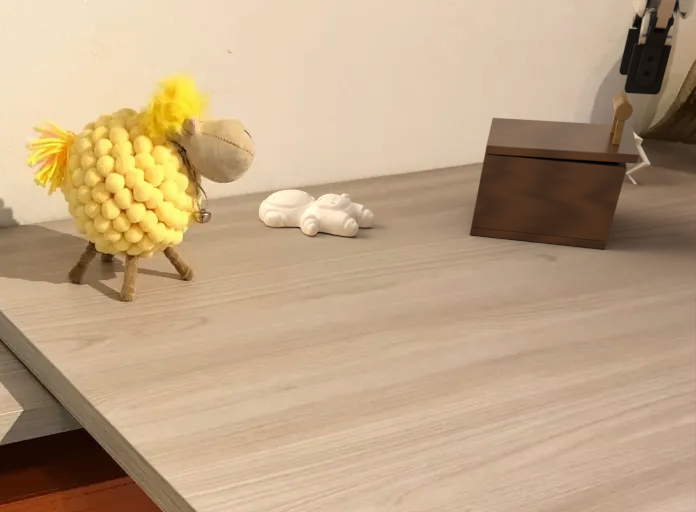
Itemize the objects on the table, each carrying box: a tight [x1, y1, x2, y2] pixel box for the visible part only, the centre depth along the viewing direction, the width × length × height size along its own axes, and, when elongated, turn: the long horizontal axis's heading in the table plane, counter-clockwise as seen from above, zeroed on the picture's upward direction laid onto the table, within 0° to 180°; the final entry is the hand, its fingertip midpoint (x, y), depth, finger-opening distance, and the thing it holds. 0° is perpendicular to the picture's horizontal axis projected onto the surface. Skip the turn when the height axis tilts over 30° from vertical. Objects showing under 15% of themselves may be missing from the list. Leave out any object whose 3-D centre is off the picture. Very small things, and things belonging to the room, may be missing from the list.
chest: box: [469, 152, 628, 250], centre depth 109 cm, size 14×13×8 cm
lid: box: [484, 90, 640, 164], centre depth 104 cm, size 14×13×5 cm
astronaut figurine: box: [258, 189, 375, 237], centre depth 109 cm, size 9×12×3 cm
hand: (638, 83), depth 101 cm, fingers open, 9 cm apart
